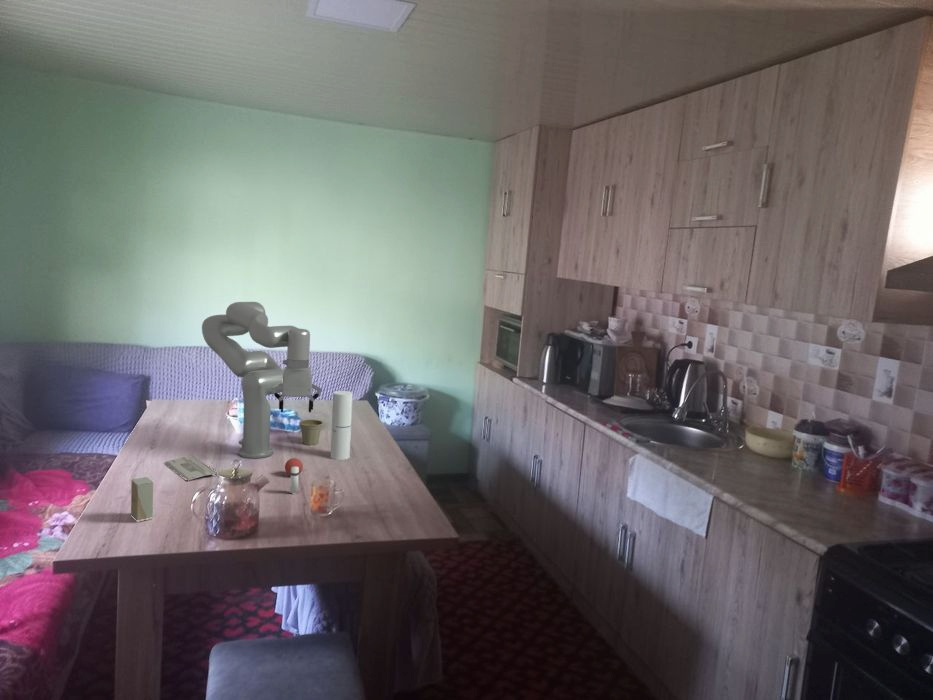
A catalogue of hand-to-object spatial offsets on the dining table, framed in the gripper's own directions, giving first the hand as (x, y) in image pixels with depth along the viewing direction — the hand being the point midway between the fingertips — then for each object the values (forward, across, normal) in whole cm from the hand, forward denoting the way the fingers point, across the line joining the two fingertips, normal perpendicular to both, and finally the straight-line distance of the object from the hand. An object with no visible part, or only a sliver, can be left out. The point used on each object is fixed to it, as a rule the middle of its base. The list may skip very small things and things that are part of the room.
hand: (295, 411), depth 232 cm
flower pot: (+21, +7, +28) cm, 36 cm away
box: (+20, -42, -42) cm, 63 cm away
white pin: (+20, 0, -27) cm, 33 cm away
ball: (+17, 0, -10) cm, 20 cm away
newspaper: (+21, -34, -1) cm, 40 cm away
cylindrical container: (+20, +17, +10) cm, 28 cm away
